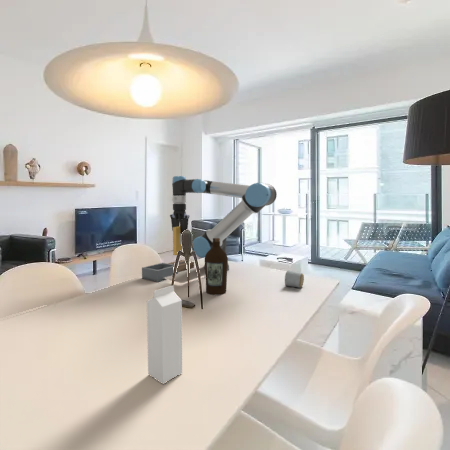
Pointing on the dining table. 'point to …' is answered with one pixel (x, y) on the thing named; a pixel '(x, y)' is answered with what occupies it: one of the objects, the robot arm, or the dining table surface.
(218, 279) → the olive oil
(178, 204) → the robot arm
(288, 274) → the grey cylinder
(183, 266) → the dispenser
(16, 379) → the dining table surface
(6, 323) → the dining table surface
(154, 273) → the bin
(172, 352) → the milk
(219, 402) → the dining table surface
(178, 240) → the yellow rectangular slab
